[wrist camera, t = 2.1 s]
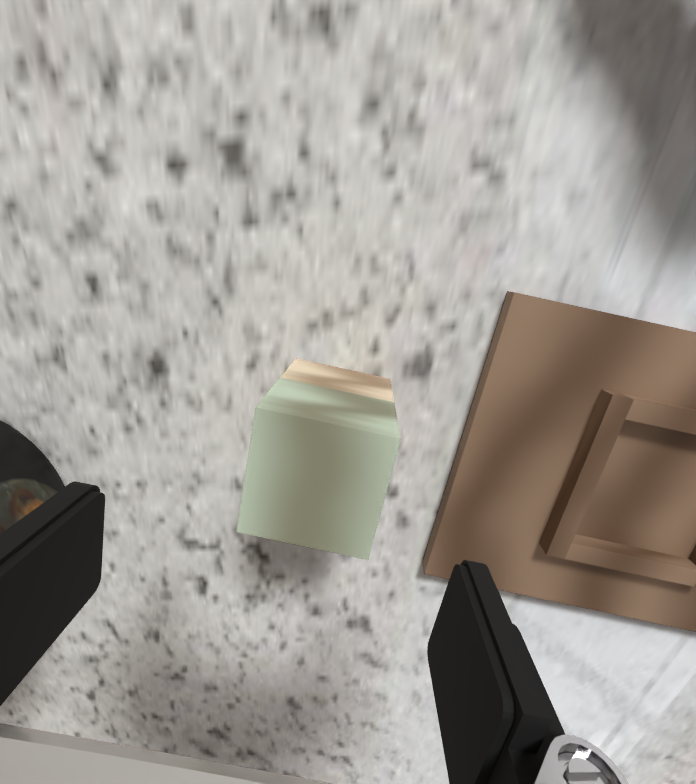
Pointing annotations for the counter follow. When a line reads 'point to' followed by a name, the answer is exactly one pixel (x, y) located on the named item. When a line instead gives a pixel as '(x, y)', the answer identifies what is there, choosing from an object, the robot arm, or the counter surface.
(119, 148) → the counter surface
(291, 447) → the two-tone block
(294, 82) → the counter surface
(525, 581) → the walnut socket board
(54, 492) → the jar
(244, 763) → the counter surface
